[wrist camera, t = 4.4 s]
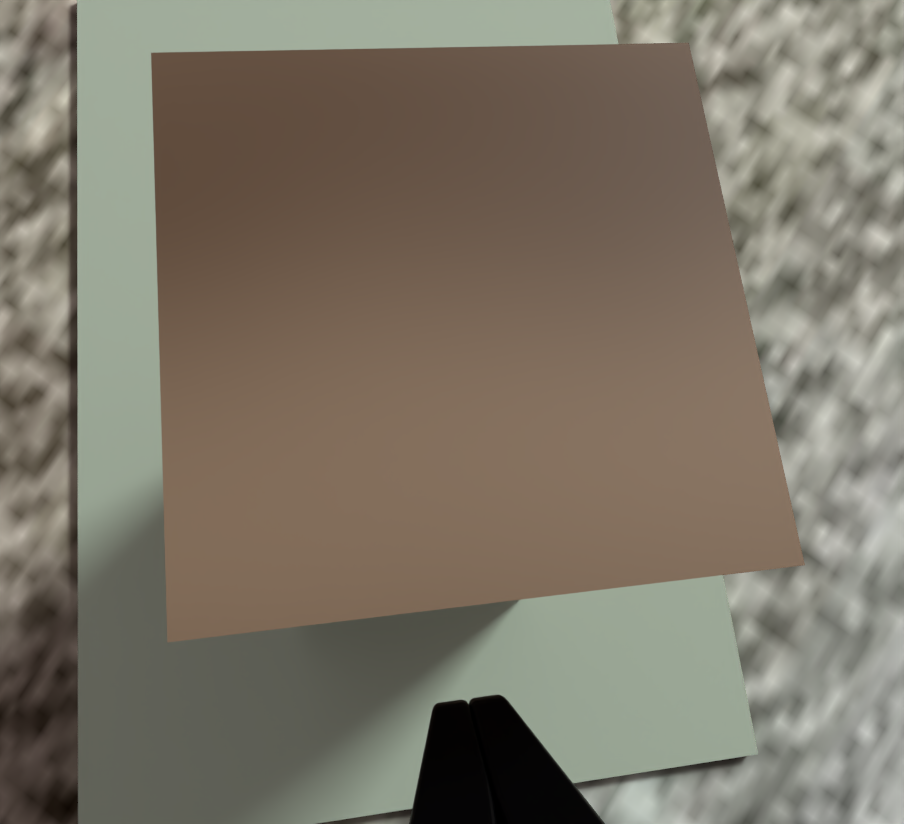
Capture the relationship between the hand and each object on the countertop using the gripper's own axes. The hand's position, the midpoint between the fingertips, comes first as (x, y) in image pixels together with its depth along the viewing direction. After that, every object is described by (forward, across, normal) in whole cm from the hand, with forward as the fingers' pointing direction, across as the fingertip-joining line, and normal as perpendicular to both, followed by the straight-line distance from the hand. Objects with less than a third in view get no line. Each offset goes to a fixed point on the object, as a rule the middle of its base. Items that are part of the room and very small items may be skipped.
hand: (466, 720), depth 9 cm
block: (+8, 0, +3) cm, 8 cm away
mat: (+11, 0, 0) cm, 11 cm away
